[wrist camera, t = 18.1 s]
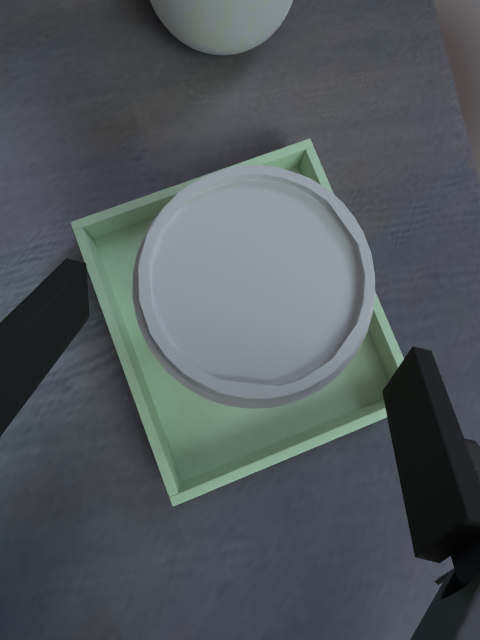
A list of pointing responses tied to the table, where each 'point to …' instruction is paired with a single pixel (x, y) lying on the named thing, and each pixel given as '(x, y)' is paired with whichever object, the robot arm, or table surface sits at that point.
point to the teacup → (222, 22)
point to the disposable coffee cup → (254, 287)
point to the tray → (205, 415)
